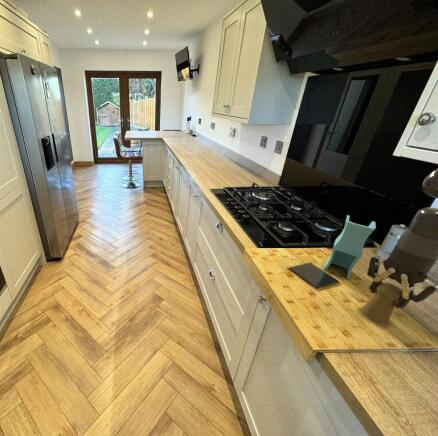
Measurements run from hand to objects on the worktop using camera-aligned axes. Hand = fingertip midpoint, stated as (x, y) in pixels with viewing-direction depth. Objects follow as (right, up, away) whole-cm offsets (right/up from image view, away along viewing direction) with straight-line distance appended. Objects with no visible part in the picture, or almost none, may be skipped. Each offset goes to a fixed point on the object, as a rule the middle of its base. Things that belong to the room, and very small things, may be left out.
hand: (385, 298), depth 66 cm
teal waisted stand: (+5, +4, +23) cm, 23 cm away
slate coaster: (-7, +2, +19) cm, 20 cm away
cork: (0, -6, +3) cm, 7 cm away
